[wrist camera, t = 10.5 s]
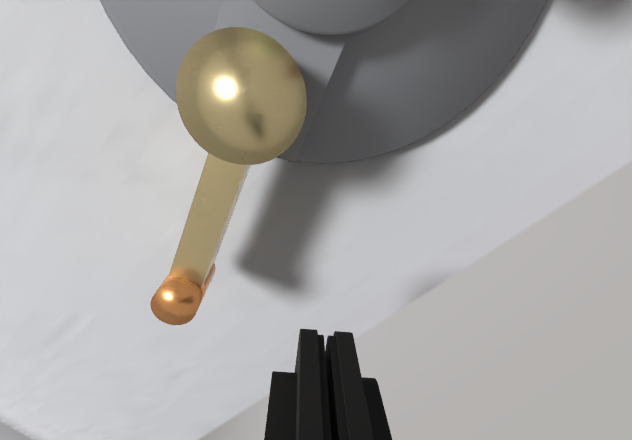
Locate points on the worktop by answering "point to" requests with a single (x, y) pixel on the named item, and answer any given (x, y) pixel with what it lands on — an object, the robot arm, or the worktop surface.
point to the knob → (227, 145)
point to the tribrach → (349, 59)
